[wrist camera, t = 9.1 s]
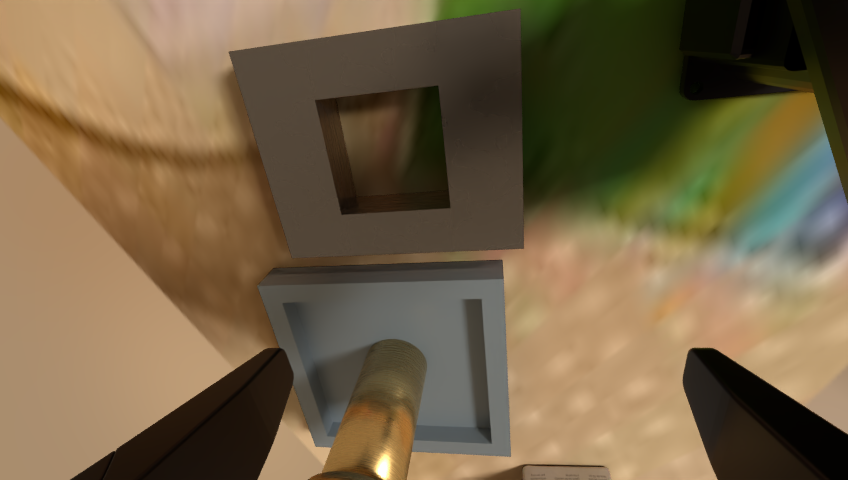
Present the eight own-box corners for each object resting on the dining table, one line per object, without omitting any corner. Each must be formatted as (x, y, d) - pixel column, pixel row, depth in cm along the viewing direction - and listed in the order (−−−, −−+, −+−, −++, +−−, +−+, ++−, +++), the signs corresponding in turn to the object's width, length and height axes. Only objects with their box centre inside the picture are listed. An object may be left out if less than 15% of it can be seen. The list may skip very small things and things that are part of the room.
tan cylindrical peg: (431, 331, 24) (399, 494, 16) (440, 392, 26) (417, 565, 18) (350, 331, 25) (278, 486, 16) (366, 391, 27) (309, 554, 19)
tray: (502, 259, 22) (503, 279, 20) (509, 430, 28) (510, 456, 27) (273, 268, 25) (257, 286, 23) (325, 423, 31) (315, 446, 29)
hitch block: (516, 12, 17) (520, 8, 15) (520, 226, 21) (523, 248, 19) (258, 50, 19) (228, 51, 17) (310, 237, 23) (292, 258, 21)
